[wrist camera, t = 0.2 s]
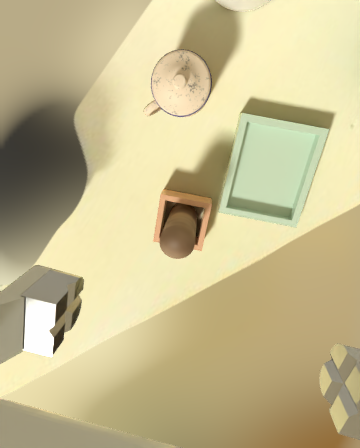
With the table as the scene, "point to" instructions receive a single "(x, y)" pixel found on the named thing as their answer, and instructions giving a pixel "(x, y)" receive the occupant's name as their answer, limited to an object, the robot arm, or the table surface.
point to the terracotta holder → (189, 200)
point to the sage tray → (271, 169)
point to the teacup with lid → (179, 84)
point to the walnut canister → (179, 231)
